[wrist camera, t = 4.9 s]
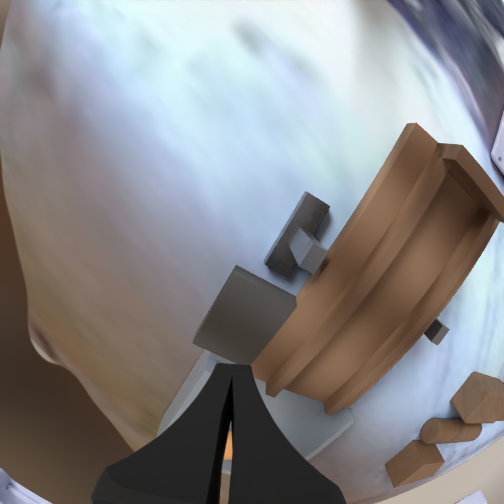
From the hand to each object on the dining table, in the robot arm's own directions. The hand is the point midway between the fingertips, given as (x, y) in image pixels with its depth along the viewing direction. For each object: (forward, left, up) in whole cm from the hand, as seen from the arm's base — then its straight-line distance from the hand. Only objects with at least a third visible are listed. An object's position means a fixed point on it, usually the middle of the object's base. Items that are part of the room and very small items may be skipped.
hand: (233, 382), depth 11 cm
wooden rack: (-4, -5, -4) cm, 8 cm away
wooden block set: (-36, +5, -9) cm, 37 cm away
